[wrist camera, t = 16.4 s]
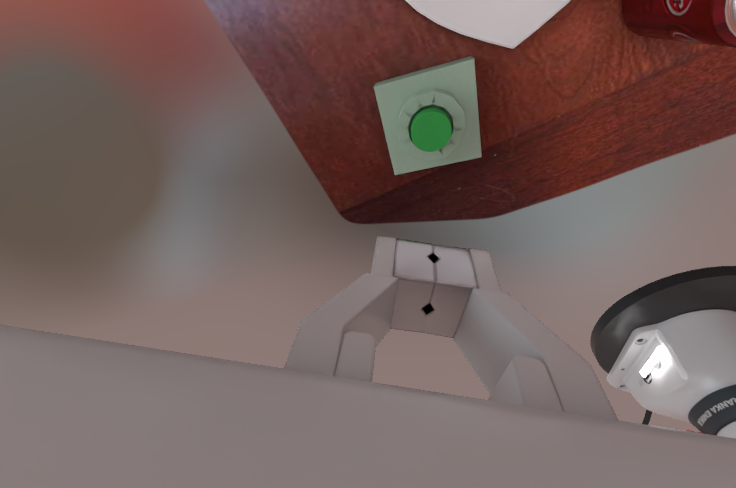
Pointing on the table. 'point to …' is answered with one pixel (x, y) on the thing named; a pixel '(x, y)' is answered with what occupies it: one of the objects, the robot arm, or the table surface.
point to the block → (424, 90)
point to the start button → (431, 129)
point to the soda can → (683, 20)
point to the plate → (491, 17)
